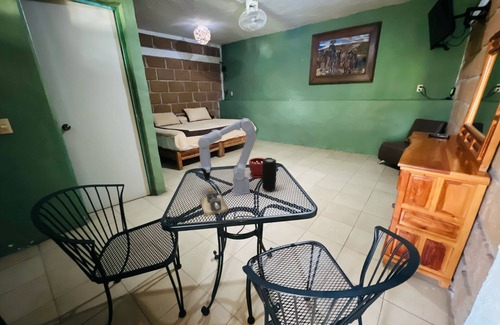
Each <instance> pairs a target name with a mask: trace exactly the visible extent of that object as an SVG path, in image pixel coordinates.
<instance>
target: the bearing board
mask: <svg viewBox="0 0 500 325" xmlns="http://www.w3.org/2000/svg"><path fill="white" fill-rule="evenodd" d="M210 195H214V197H215V199H211V197H210ZM199 203H200V205H201V207H202V211H203V214H204V216H205V217H208V216H211V215H216V214H220V213H225V212H229V207H228V204H227V203H226V201H225V199H224V198H223V196H222V194H218V192H217V190H216V189H215V190H213V191H209V192H207V191H206V197H201V198H199ZM213 203H218V205H219V209H216V208H215V206H214V204H213Z"/></svg>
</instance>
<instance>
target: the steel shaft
mask: <svg viewBox="0 0 500 325" xmlns="http://www.w3.org/2000/svg"><path fill="white" fill-rule="evenodd" d="M209 191H214V189H213V188H209V189H207V190H206V193H207V192H209ZM210 197H211V199H215V197H214V195H210ZM213 204H214V206H215V208H216V209H219V205H218V203H213Z"/></svg>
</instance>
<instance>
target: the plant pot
mask: <svg viewBox="0 0 500 325" xmlns="http://www.w3.org/2000/svg"><path fill="white" fill-rule="evenodd" d="M264 159H265V158H264V157H254V158H250V159H248V166H249V171H250V173H249V174H250V176H251V177H252V178H254V179H255V178H256V179H261V178H260V177H262V165H263V160H264Z"/></svg>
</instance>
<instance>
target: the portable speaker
mask: <svg viewBox="0 0 500 325" xmlns="http://www.w3.org/2000/svg"><path fill="white" fill-rule="evenodd" d="M262 163H263V165H262V178H261V181H262V182H261V184H262V186H261V187H262V190H264V191H265V192H266V193H272V192H273V191H274V190H275V191H276V185H277V159H275V158H272V157H265V158H264V160H263V162H262Z"/></svg>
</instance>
